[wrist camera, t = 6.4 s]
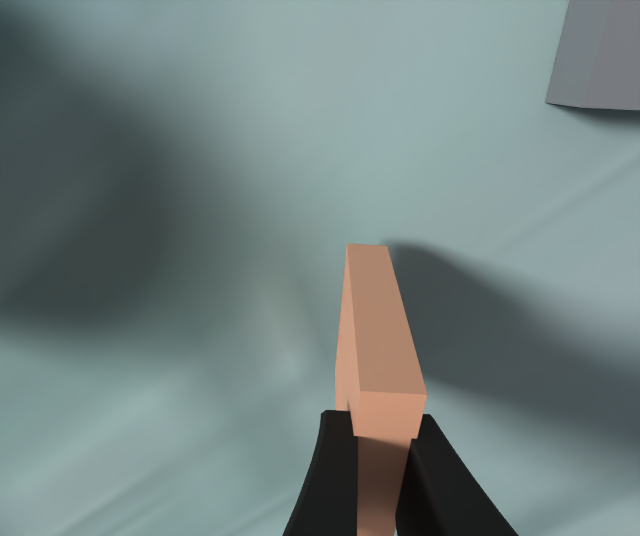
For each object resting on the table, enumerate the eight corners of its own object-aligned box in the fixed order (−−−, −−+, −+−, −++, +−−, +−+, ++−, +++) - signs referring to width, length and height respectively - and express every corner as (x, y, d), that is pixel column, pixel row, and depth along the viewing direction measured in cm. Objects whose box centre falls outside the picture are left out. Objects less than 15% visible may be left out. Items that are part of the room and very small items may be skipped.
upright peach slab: (387, 245, 13) (427, 394, 8) (368, 372, 15) (389, 551, 10) (347, 243, 13) (359, 391, 8) (334, 370, 15) (338, 548, 10)
